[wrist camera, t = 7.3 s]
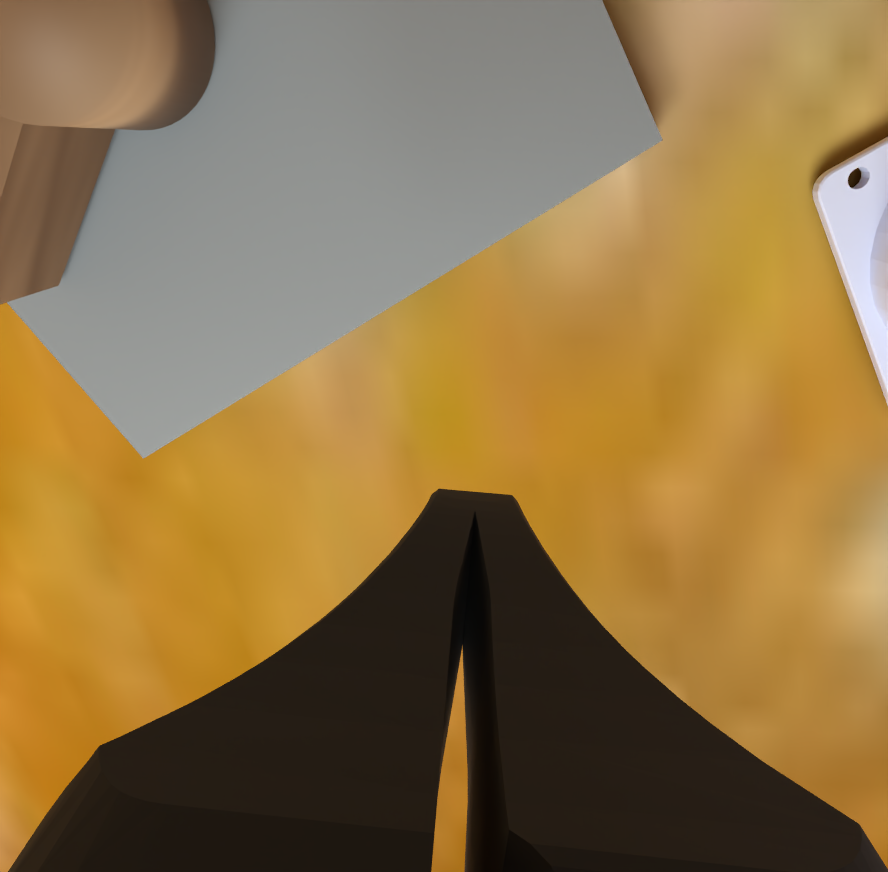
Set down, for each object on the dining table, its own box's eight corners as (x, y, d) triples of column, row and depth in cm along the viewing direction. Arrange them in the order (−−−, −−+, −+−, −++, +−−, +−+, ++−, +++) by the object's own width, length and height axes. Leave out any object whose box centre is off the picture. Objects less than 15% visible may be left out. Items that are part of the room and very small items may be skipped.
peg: (293, -124, 14) (207, -242, 10) (113, 314, 18) (2, 364, 14) (107, -267, 13) (-75, -462, 9) (-33, 229, 18) (-196, 254, 13)
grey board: (289, -686, 11) (267, -773, 10) (651, 140, 17) (662, 140, 15) (-249, -37, 16) (-302, -50, 15) (160, 442, 22) (143, 458, 20)
